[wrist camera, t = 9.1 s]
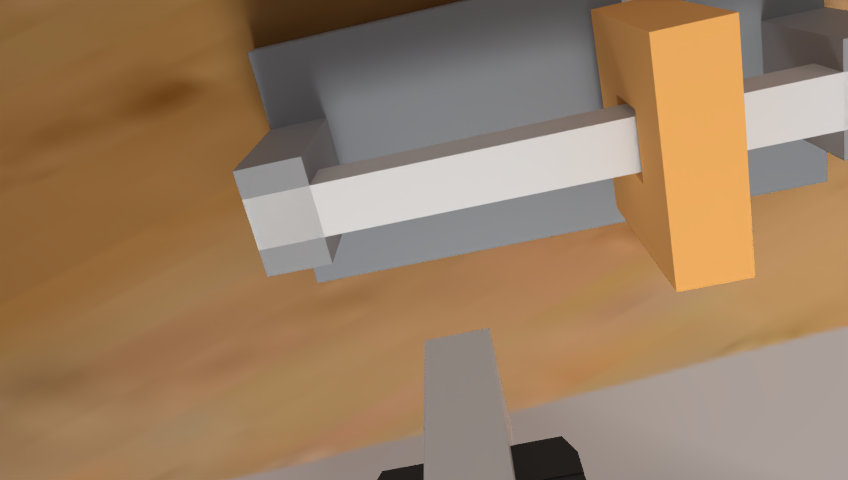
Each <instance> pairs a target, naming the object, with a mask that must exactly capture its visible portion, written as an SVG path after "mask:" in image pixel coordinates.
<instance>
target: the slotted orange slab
mask: <svg viewBox="0 0 848 480" xmlns="http://www.w3.org/2000/svg"><path fill="white" fill-rule="evenodd" d="M591 17H592V25H593V32H594V40H595V47H596V55H597V62H598V70H599V77H600V85H601V93H602V100H603V108H608V107H613V106H618V105H622V104H627V103H628V104H629V105H630V106H631V107H633V108H634V109H635V115H636V123H637V132H638V140H639V149H640V157H641V166H642V172H639V173H634V174H630V175H625V176H620V177H615V178H613V183H614V190H615V198H616V205H617V208H618V210H619V211H620V213H621V214H622V216H623V217H624V218H625V220H626V221H627V223H628V224H629V225H630V227H631V228H632V230H633V231H634V233H635V234H636V235H637V237H638V238H639V240H640V241H641V242H642V244H643V245H644V247H645V248H646V250H647V251H648V252H649V254H650V255H651V257H652V258H653V259H654V261H655V262H656V264H657V265H658V267H659V268H660V269H661V271H662V272H663V274H664V275H665V276H666V278H667V279H668V281H669V282H670V284H671V285H672V286H673V288H674V289H675V291H676V292H680V291H685V290H690V289H696V288H701V287H706V286H711V285H717V284H722V283H727V282H733V281H738V280H743V279H749V278H754V277H755V267H754V251H753V234H752V218H751V202H750V185H749V169H748V152H747V136H746V120H745V103H744V87H743V70H742V54H741V38H740V21H739V12H736V11H731V10H726V9H721V8H716V7H711V6H706V5H701V4H696V3H692V2H687V1H682V0H631V1H627V2H622V3H618V4H613V5H609V6H605V7H600V8H596V9H591Z"/></svg>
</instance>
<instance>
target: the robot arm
mask: <svg viewBox="0 0 848 480" xmlns="http://www.w3.org/2000/svg"><path fill="white" fill-rule="evenodd" d="M378 480H586V478H585V476H584V472H583V468H582V465H581V462H580V458H579V455H578V452H577V451H576V450H575V449H574V448H573V447H572V446H571V445H570V444H569V443H568V442H567V441H566V440H565V439H564V438H563V437H562V436H561V437H555V438H550V439H544V440H539V441H534V442H528V443H523V444H517V445H514V440H513V434H512V428H511V423H510V419H509V414H508V410H507V405H506V401H505V396H504V392H503V387H502V383H501V379H500V374H499V370H498V365H497V361H496V356H495V352H494V347H493V343H492V338H491V334H490V329H489V328H486V329H481V330H476V331H471V332H466V333H461V334H456V335H451V336H446V337H441V338H436V339H431V340H426V341H425V376H424V464H419V465H414V466H409V467H403V468H397V469H392V470H387V471H382V473H381V474H380V476H379V478H378Z"/></svg>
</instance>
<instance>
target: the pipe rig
mask: <svg viewBox="0 0 848 480" xmlns="http://www.w3.org/2000/svg"><path fill="white" fill-rule="evenodd" d="M627 1H631V0H462V1H458V2H454V3H449V4H445V5H441V6H436V7H432V8H428V9H423V10H419V11H415V12H411V13H406V14H402V15H398V16H393V17H389V18H385V19H380V20H376V21H372V22H368V23H363V24H359V25H355V26H350V27H346V28H342V29H337V30H333V31H329V32H325V33H320V34H316V35H312V36H307V37H303V38H299V39H294V40H290V41H286V42H282V43H277V44H273V45H269V46H264V47H260V48H256V49H253V50H251V51H250V52H248V56H249V59H250V62H251V66H252V69H253V72H254V76H255V79H256V82H257V85H258V89H259V92H260V95H261V99H262V102H263V105H264V108H265V112H266V115H267V118H268V121H269V125H270V128H271V130H270V131H269V132H268V133H267V134H266V135H265V137H264V138H263V139H262V140H261V141H260V142H259V143H258V144H257V145H256V146H255V148H254V149H253V150H252V151H251V152H250V153H249V154H248V155H247V156H246V157H245V158H244V160H243V161H242V162H241V163H240V164H239V165H238V166H237V167H236V168H235V169H234V170H233V174H234V177H235V180H236V183H237V186H238V189H239V192H240V195H241V198H242V201H243V204H244V207H245V210H246V213H247V216H248V219H249V222H250V225H251V228H252V231H253V234H254V237H255V240H256V243H257V246H258V249H259V252H260V255H261V258H262V261H263V264H264V267H265V270H266V273H267V276H268V277H269V276H274V275H279V274H284V273H289V272H294V271H299V270H304V269H309V268H313V269H314V272H315V275H316V279H317V282H318V283H319V282H324V281H330V280H335V279H340V278H345V277H350V276H355V275H360V274H365V273H370V272H375V271H380V270H385V269H390V268H395V267H400V266H405V265H410V264H415V263H420V262H425V261H430V260H435V259H440V258H445V257H450V256H455V255H460V254H465V253H470V252H475V251H480V250H485V249H490V248H495V247H500V246H505V245H510V244H515V243H520V242H525V241H530V240H535V239H540V238H545V237H550V236H555V235H560V234H565V233H570V232H575V231H580V230H585V229H590V228H595V227H600V226H605V225H610V224H615V223H620V222H626V220H625V218H624V217H623V216H622V214H621V213H620V211H619V210H618V208H617V205H616V198H615V190H614V183H613V178H615V177H620V176H625V175H630V174H634V173H639V172H642V166H641V157H640V149H639V140H638V132H637V123H636V115H635V109H634V108H633V107H631V106H630V105H629V104H628V103H627V104H622V105H618V106H613V107H608V108H603V100H602V93H601V85H600V77H599V70H598V62H597V55H596V47H595V40H594V32H593V25H592V17H591V9H596V8H600V7H605V6H609V5H613V4H618V3H622V2H627ZM682 1H687V2H692V3H696V4H701V5H706V6H711V7H716V8H721V9H726V10H731V11H736V12H739V21H740V38H741V54H742V70H743V87H744V103H745V120H746V136H747V152H748V169H749V185H750V197H751V196H756V195H761V194H766V193H771V192H776V191H781V190H786V189H791V188H796V187H801V186H806V185H811V184H816V183H821V182H826V181H827V152H829V153H831V154H832V155H834V156H836V157H838V158H840V159H842V160H844V161H845V160H848V11H847V10H840V9H833V8H826V7H824V0H682Z"/></svg>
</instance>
